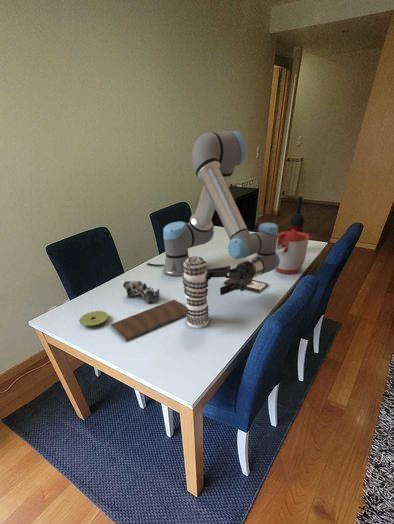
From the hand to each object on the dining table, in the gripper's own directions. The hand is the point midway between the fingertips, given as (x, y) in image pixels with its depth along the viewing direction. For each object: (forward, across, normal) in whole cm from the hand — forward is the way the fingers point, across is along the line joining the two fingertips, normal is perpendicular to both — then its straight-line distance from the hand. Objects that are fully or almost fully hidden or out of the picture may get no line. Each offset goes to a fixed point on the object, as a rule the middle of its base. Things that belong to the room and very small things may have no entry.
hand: (208, 285), depth 108 cm
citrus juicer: (-59, +8, -14) cm, 61 cm away
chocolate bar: (-31, +11, -14) cm, 36 cm away
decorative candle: (+6, 0, -14) cm, 15 cm away
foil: (+11, +33, -14) cm, 38 cm away
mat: (+36, +28, -14) cm, 48 cm away
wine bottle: (-82, +24, -14) cm, 87 cm away
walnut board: (+18, +14, -14) cm, 26 cm away
